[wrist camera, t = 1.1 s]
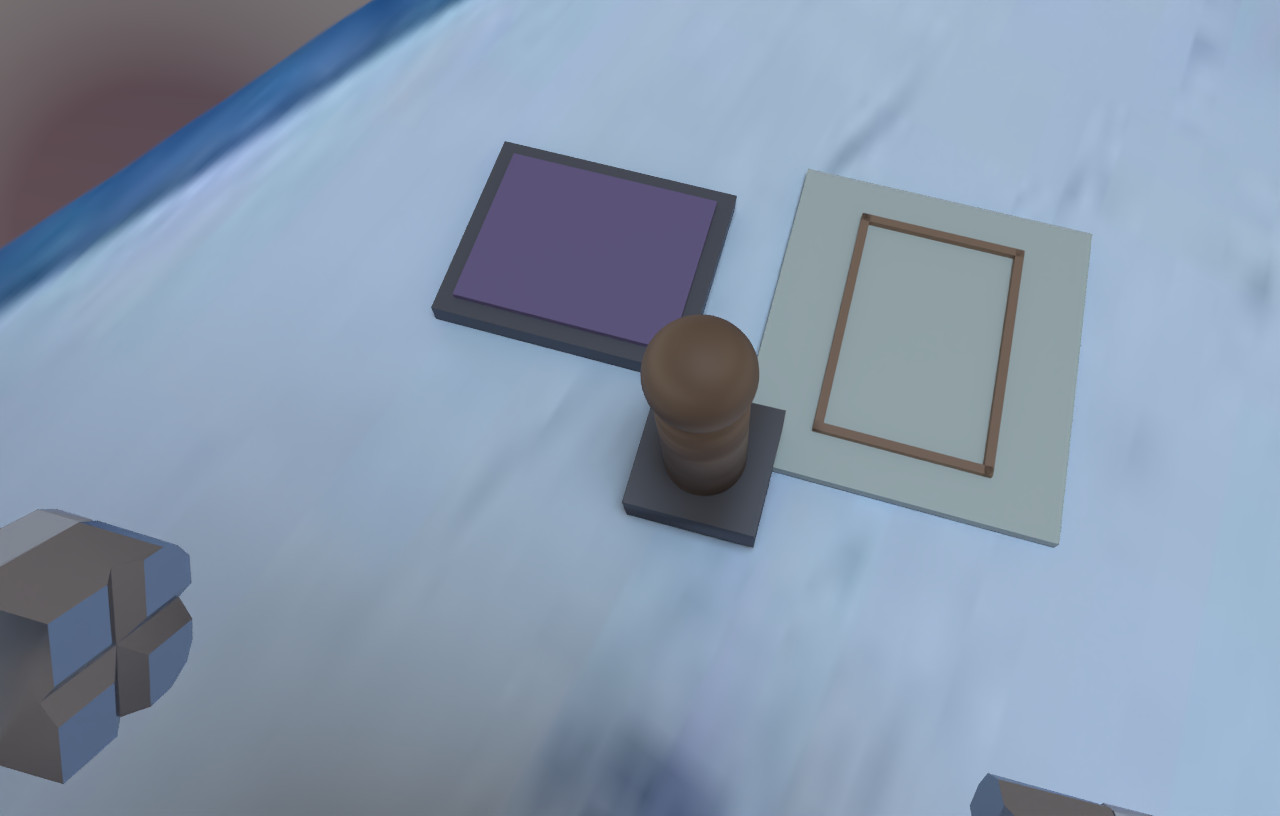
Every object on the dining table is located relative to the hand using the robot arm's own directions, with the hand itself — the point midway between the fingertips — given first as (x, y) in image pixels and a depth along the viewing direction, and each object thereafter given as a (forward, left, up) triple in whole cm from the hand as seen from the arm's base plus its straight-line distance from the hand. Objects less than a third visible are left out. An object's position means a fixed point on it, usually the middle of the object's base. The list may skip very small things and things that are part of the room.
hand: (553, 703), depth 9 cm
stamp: (0, +13, -27) cm, 30 cm away
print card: (+8, +21, -27) cm, 36 cm away
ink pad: (-8, +21, -27) cm, 36 cm away
